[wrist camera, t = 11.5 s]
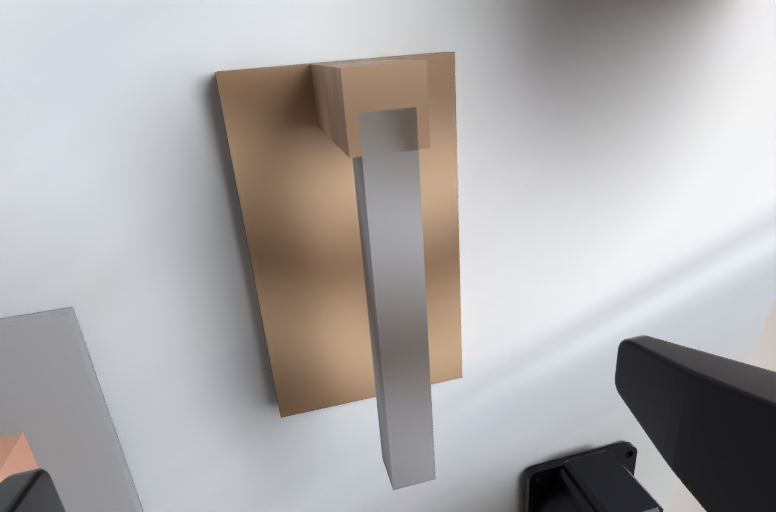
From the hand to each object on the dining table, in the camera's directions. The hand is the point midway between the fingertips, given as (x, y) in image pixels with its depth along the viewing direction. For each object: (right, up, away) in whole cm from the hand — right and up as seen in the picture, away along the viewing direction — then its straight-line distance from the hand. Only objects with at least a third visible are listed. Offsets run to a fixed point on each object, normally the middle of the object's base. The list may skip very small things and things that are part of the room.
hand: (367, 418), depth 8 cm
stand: (-1, +3, +12) cm, 13 cm away
